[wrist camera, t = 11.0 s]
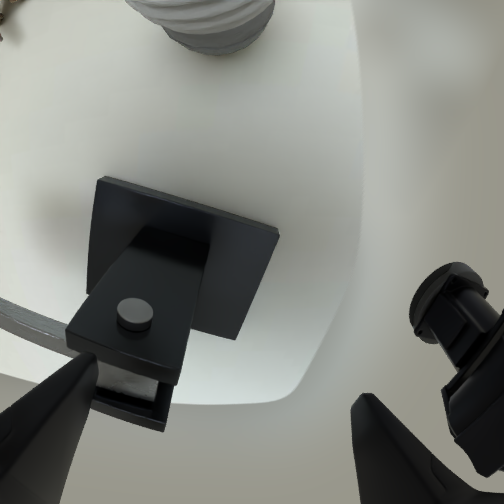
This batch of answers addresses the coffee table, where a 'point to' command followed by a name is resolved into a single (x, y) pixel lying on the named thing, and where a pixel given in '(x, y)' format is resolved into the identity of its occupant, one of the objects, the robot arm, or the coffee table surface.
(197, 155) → the coffee table surface
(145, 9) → the light bulb
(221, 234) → the bracket
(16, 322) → the lever
